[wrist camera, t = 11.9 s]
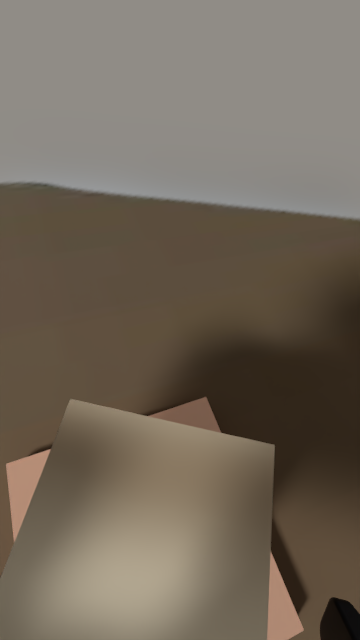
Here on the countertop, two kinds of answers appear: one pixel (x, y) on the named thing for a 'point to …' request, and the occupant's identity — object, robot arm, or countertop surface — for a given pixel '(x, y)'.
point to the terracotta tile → (193, 414)
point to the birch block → (142, 534)
